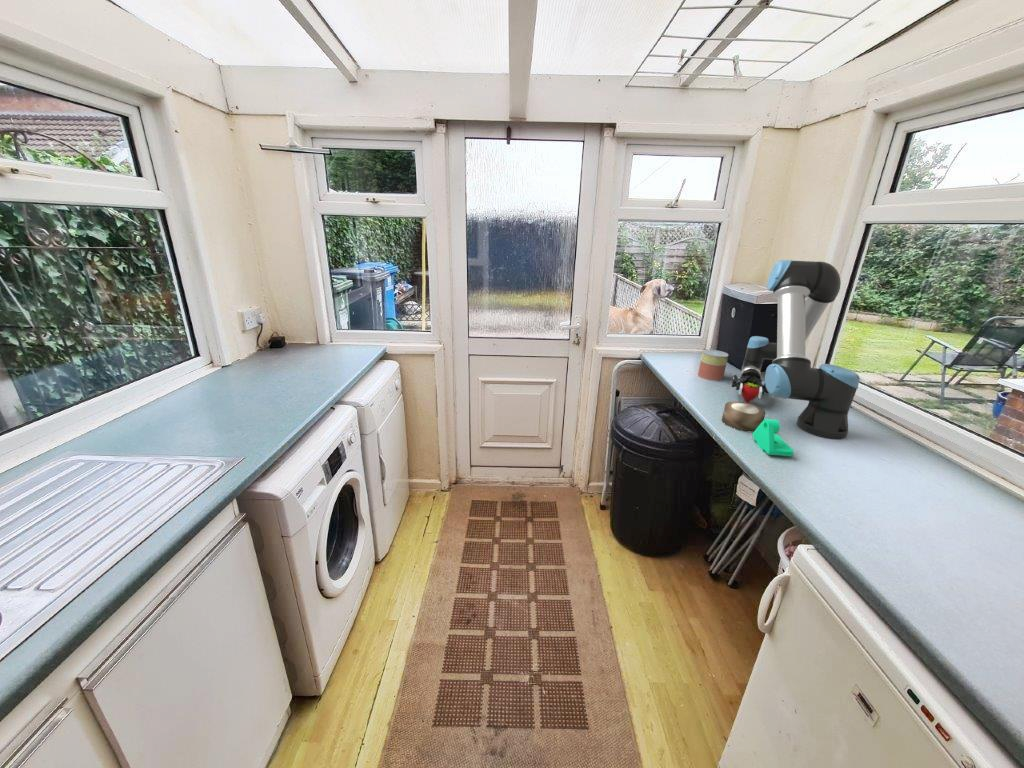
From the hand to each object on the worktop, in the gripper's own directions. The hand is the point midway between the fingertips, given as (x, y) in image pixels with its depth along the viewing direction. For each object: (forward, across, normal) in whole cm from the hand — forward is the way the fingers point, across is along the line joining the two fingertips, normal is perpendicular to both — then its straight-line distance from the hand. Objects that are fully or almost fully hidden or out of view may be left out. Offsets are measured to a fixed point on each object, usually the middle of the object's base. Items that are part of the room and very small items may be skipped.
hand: (750, 393), depth 165 cm
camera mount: (+33, -8, -7) cm, 35 cm away
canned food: (-32, +16, -6) cm, 36 cm away
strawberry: (-5, 0, -6) cm, 8 cm away
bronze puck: (+18, +2, -6) cm, 19 cm away
